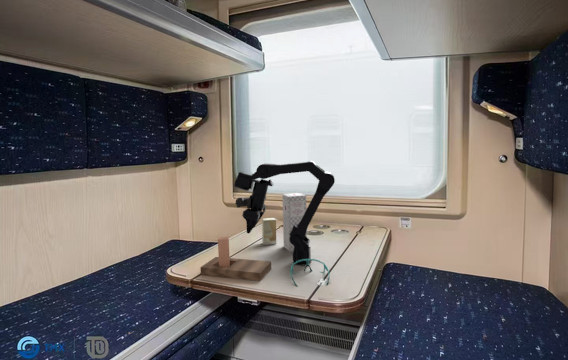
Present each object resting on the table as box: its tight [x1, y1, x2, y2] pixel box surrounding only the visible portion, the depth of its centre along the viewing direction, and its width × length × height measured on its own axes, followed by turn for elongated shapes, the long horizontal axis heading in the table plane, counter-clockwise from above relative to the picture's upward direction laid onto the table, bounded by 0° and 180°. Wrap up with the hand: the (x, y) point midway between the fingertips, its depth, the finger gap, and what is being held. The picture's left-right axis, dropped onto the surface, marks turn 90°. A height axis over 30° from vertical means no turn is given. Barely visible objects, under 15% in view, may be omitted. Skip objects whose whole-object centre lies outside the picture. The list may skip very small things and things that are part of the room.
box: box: [281, 192, 308, 253], centre depth 159 cm, size 8×8×25 cm
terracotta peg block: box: [217, 236, 231, 267], centre depth 133 cm, size 4×4×13 cm
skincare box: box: [261, 217, 277, 246], centre depth 168 cm, size 6×4×12 cm
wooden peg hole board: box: [199, 256, 272, 282], centre depth 132 cm, size 24×12×3 cm, turn 73°
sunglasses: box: [289, 258, 330, 287], centre depth 125 cm, size 14×15×5 cm
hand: (250, 230), depth 142 cm, fingers open, 9 cm apart
